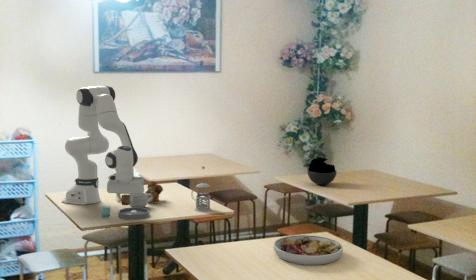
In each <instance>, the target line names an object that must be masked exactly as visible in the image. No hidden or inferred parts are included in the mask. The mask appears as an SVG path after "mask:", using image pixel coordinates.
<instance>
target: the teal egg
mask: <svg viewBox="0 0 476 280" xmlns="http://www.w3.org/2000/svg"><path fill="white" fill-rule="evenodd" d="M109 216H110V217H111V207H110V206H102V207H101V218H103V217H108V218H110V217H109Z"/></svg>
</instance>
